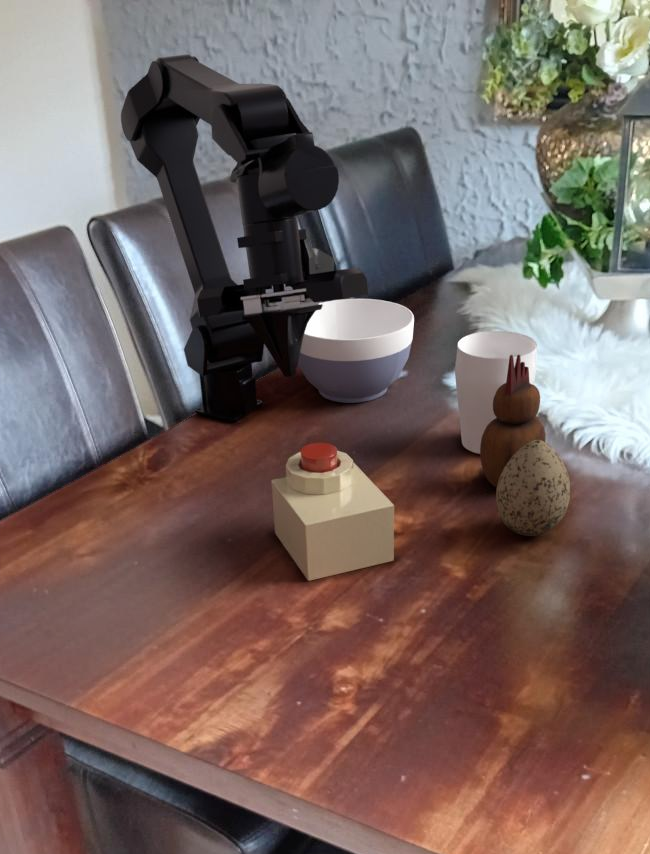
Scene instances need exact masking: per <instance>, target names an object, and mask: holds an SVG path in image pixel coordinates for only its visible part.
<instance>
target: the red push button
mask: <svg viewBox="0 0 650 854" xmlns="http://www.w3.org/2000/svg"><path fill="white" fill-rule="evenodd" d="M337 451H338V448H337V446H335V445H334V444H332V443H327V442H314V443H313V442H312V443H310V444H307V445H304V446H303V447H302V448H301V449H300V452H301V468H302V470H304V471H307V472H312V473H324V472H328V471H332V470H334V469H336V468H337V467H338V458H337Z"/></svg>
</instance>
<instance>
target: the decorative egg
mask: <svg viewBox="0 0 650 854" xmlns="http://www.w3.org/2000/svg"><path fill="white" fill-rule="evenodd" d="M570 500H571V482H570V476H569V473H568V470H567V468H566V466H565V463H564V462H563V460H562V458H561V457H560V455H559V454H558V452H556V450H555V449H554V448H553V447H552V446H551V445H550V444H549V443H548V442H547V441H545V442H544V441H541V440H533V441H531V442H529V443H527V444H526V445H524V446H523V447H522V448H520V449H519V450H518V451H517V452H516V453H515V454H514V455H513V456H512V457H511V459H510V460H509V461H508V463H507V464H506V466H505V467H504V469H503V471H502V473H501V476H500V478H499V481H498V485H497V487H496V491H495V502H496V508H497V512H498V514H499V517H500V519H501V520H502V522H503V524H504V525H505V526H506V527H507V529H510V530H511V531H512V532H514V533H516V534H518V535H521V536H525V537H537V536H542V535H545V534H547V533H548V532H550V531H551V530H553V529H554V528H556V526H557V525H558V524H560V522H561V521H562V520H563V518H564V516H565V514H566V512H567V509H568V507H569V504H570Z"/></svg>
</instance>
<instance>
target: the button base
mask: <svg viewBox="0 0 650 854" xmlns="http://www.w3.org/2000/svg"><path fill="white" fill-rule="evenodd" d="M337 458H338V467H337V468H336V469H334V470H332V471H328V472H324V473H312V472H307V471H304V470H302V468H301V451H299V452H296V453H295V454H293V455H291V456H290V457H288V459H287V462H286V464H285V477H280V478H275V479H272V480H271V481H270V482H271V494H272V495H271V496H272V508H273V522H274V534H275V535H276V537H277V539H278V540H279V541H280V543H281V544H282V546H283V547H284V548H285V550H286V551H287V553H288V554H289V556H290V557H291V559H292V560H293V561H294V563H295V564H296V566H297V567H298V568H299V570H300V571H301V573H302V575H303V576H304V577H305V579H306V580H307V582H310V581H315V580H318V579H323V578H327V577H332V576H336V575H340V574H344V573H348V572H352V571H356V570H361V569H364V568H368V567H372V566H373V567H374V566H377V565H378V566H379V565H381V564H386V563H389V562H394V560H395V559H394V558H395V504H394V503H392V501H391V500H390V499H389V498H388V497H387V496H386V495H385V493H383V491H382V490H380V489H379V487H378V486H377V485H376V484H375V483H374V482H373V481H372V480H371V479H370V478H369V477H368V476H367V475H366V474H365V473H364V472H363V471H362V470H361V468H360V467H359V466H358V465H357V464H356V463H355V462H354V460H353V459H352V458H351V457H350V456H349V454H347V453H346V452H343V451H340V450H337Z"/></svg>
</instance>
